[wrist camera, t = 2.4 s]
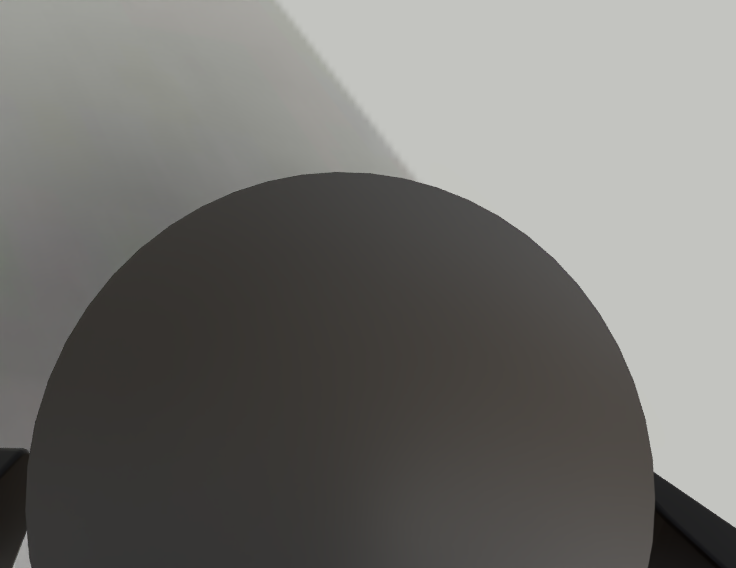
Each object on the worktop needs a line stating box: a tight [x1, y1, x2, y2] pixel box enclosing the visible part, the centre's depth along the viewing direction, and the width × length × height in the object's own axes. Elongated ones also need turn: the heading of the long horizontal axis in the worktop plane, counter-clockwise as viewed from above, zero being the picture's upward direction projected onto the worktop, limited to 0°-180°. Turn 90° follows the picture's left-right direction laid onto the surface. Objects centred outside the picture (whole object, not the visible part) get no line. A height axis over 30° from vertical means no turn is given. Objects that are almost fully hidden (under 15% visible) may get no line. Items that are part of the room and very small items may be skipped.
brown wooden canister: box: [25, 172, 655, 568], centre depth 11 cm, size 6×5×13 cm
